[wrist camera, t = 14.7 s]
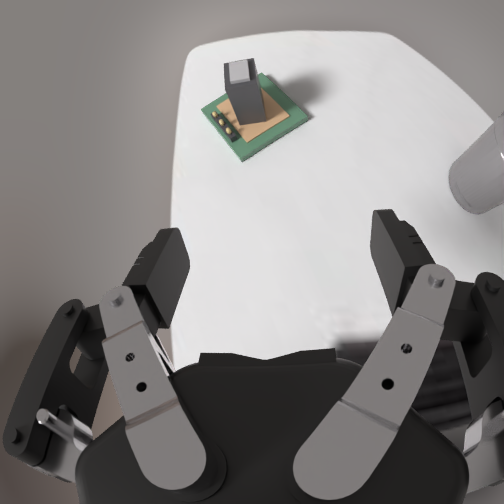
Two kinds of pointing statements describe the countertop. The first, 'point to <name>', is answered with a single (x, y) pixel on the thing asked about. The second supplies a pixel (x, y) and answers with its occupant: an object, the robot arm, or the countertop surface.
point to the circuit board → (258, 134)
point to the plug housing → (244, 91)
